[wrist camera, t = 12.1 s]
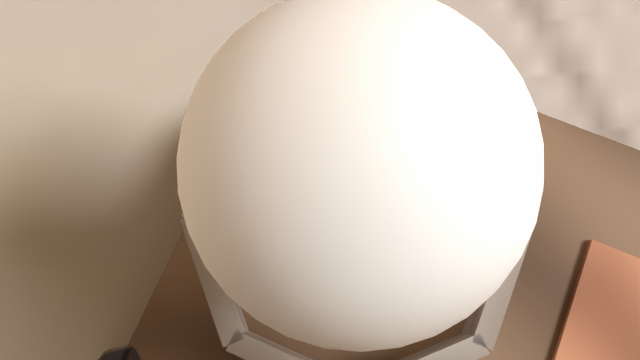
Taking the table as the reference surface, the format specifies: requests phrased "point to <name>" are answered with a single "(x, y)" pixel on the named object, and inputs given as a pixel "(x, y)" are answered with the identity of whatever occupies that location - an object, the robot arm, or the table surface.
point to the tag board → (496, 312)
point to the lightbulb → (360, 170)
